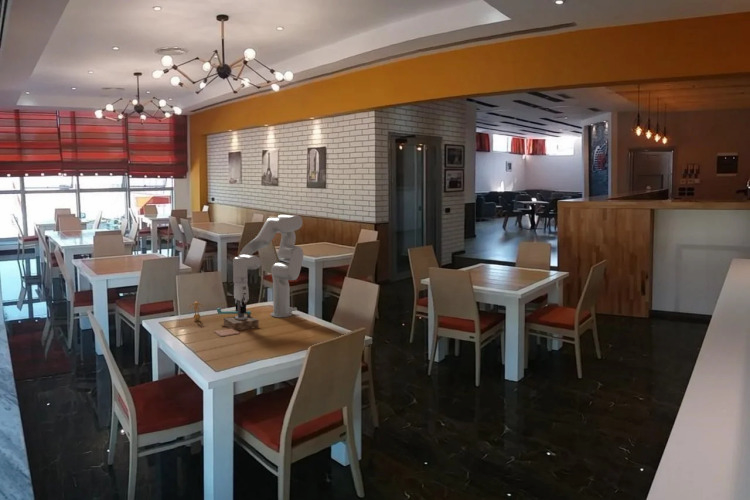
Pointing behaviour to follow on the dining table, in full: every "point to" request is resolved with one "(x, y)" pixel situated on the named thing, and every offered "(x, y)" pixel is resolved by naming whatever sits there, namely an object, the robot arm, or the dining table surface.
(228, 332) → the tile
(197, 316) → the figurine
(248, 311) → the clip
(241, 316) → the plug
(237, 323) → the socket block
